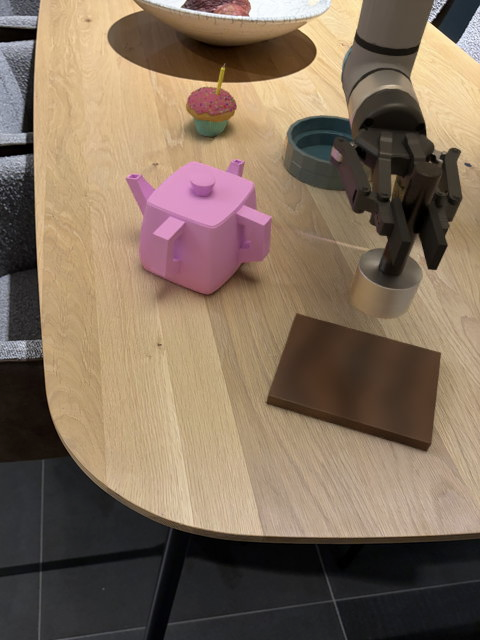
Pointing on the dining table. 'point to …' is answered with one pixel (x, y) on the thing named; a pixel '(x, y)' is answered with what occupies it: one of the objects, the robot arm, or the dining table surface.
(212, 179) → the teakettle
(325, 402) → the board
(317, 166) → the bowl
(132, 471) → the dining table surface
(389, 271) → the handled rubber stamp
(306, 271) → the dining table surface
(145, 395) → the dining table surface
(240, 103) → the dining table surface
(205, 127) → the cupcake
